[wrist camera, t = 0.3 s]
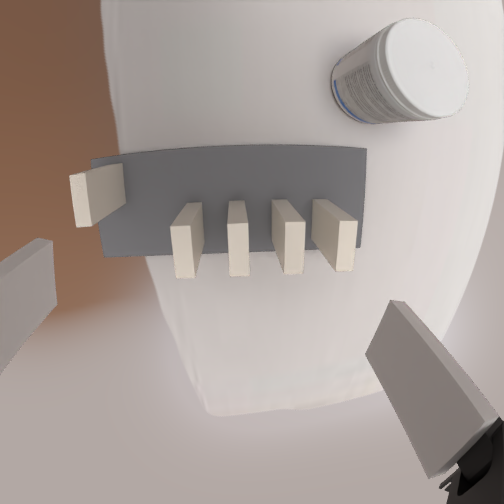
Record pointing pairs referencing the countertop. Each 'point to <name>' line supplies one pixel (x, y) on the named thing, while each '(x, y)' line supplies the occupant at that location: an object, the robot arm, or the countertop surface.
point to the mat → (228, 192)
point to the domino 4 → (288, 236)
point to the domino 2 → (188, 240)
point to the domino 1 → (97, 193)
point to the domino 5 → (334, 234)
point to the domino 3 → (238, 239)
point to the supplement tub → (402, 75)
